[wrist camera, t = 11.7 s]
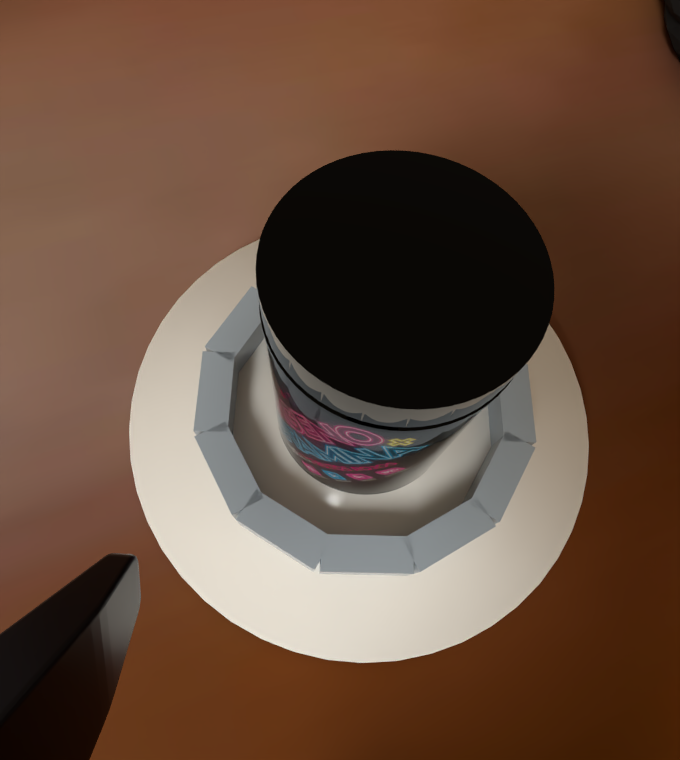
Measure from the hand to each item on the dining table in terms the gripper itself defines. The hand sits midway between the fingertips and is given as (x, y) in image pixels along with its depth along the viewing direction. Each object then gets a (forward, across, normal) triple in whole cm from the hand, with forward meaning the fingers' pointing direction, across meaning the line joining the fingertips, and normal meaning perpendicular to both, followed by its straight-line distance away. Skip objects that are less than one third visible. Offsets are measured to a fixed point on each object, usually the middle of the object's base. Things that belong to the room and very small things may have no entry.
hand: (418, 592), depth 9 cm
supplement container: (+13, 0, +3) cm, 14 cm away
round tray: (+14, 0, +4) cm, 14 cm away
